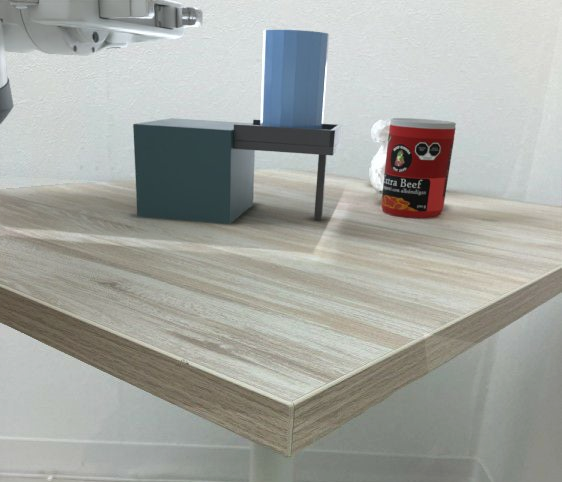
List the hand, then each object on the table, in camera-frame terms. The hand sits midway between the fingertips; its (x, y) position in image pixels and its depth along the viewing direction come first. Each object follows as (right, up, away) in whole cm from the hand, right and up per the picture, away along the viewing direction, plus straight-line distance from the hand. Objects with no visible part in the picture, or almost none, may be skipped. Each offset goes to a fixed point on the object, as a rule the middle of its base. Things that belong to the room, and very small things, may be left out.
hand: (176, 12), depth 67 cm
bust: (+27, -10, +30) cm, 42 cm away
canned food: (+27, -17, +16) cm, 36 cm away
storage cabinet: (+7, -20, +5) cm, 22 cm away
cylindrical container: (+12, -13, +1) cm, 18 cm away
